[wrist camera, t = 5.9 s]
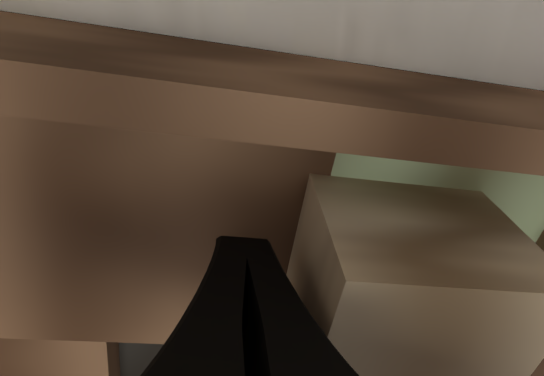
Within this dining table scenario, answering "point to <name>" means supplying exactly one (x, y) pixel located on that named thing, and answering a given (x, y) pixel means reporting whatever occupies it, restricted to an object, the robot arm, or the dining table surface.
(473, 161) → the trap box
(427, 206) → the birch block
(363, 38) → the dining table surface
